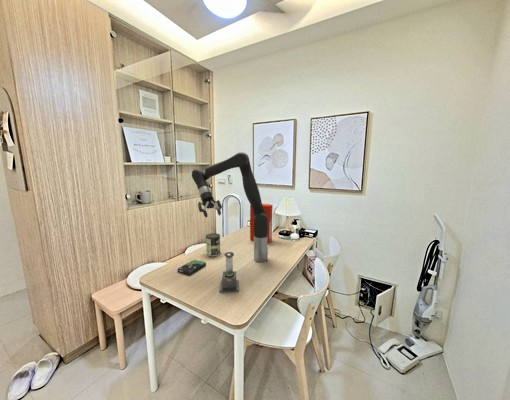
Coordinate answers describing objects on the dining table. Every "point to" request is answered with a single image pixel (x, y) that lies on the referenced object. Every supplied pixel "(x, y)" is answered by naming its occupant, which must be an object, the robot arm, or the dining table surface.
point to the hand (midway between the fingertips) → (213, 215)
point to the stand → (229, 283)
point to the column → (229, 264)
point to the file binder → (269, 214)
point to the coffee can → (213, 244)
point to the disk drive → (191, 267)
